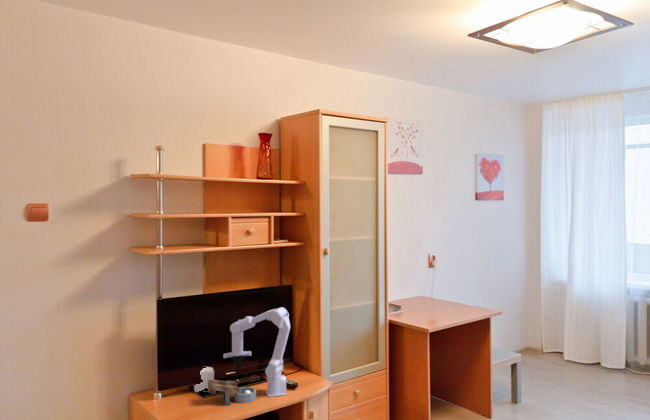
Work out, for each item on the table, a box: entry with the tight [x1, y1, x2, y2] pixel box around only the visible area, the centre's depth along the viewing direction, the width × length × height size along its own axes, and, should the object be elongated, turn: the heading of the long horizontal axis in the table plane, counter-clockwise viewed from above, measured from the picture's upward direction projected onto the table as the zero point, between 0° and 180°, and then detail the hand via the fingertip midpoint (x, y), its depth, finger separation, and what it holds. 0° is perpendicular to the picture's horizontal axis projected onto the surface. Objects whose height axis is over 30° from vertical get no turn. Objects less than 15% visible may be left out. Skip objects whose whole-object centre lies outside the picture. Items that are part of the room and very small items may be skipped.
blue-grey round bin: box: [233, 386, 257, 404], centre depth 255 cm, size 11×11×4 cm
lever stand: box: [221, 389, 232, 406], centre depth 252 cm, size 3×12×8 cm, turn 18°
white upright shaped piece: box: [193, 366, 215, 393], centre depth 266 cm, size 10×4×12 cm, turn 104°
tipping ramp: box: [207, 379, 241, 395], centre depth 255 cm, size 15×15×4 cm
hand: (237, 370), depth 269 cm, fingers closed
